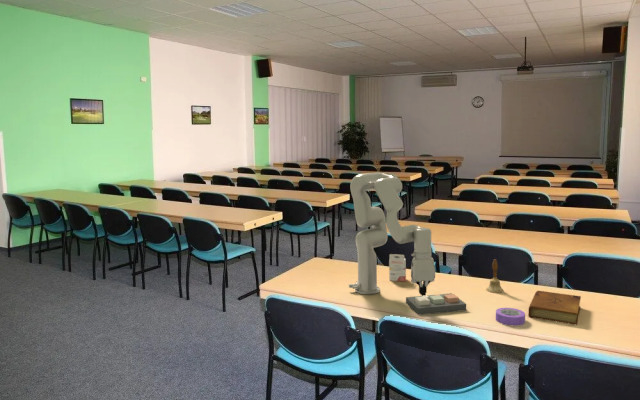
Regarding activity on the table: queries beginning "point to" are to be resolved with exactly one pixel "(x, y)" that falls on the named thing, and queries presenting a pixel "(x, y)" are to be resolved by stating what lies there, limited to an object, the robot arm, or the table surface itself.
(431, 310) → the keypad
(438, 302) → the key sage
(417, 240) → the robot arm
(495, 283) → the hand bell
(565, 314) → the diary
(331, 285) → the table surface
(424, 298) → the key cream
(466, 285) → the table surface
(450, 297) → the key terracotta
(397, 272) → the ink cartridge box
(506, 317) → the masking tape
